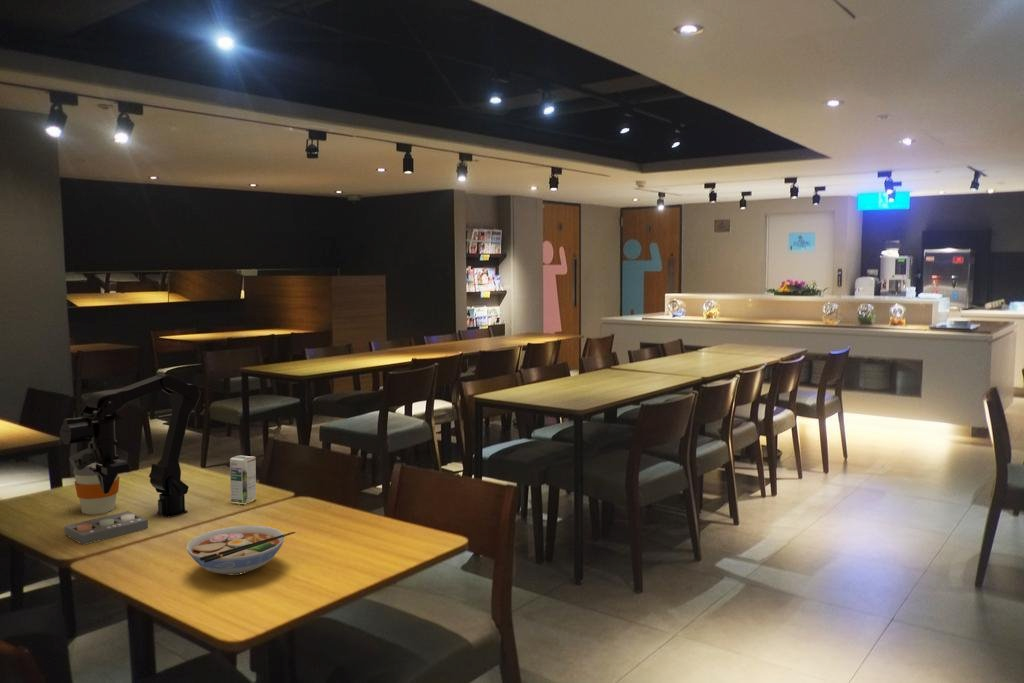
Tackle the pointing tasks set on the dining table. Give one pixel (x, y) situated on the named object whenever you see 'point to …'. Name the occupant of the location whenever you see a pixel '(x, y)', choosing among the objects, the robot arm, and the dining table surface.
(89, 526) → the button terracotta
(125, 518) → the button cream
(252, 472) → the syrup box
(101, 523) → the button sage
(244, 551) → the ramen bowl
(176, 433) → the robot arm
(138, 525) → the button panel
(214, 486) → the dining table surface
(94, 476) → the reusable coffee cup
